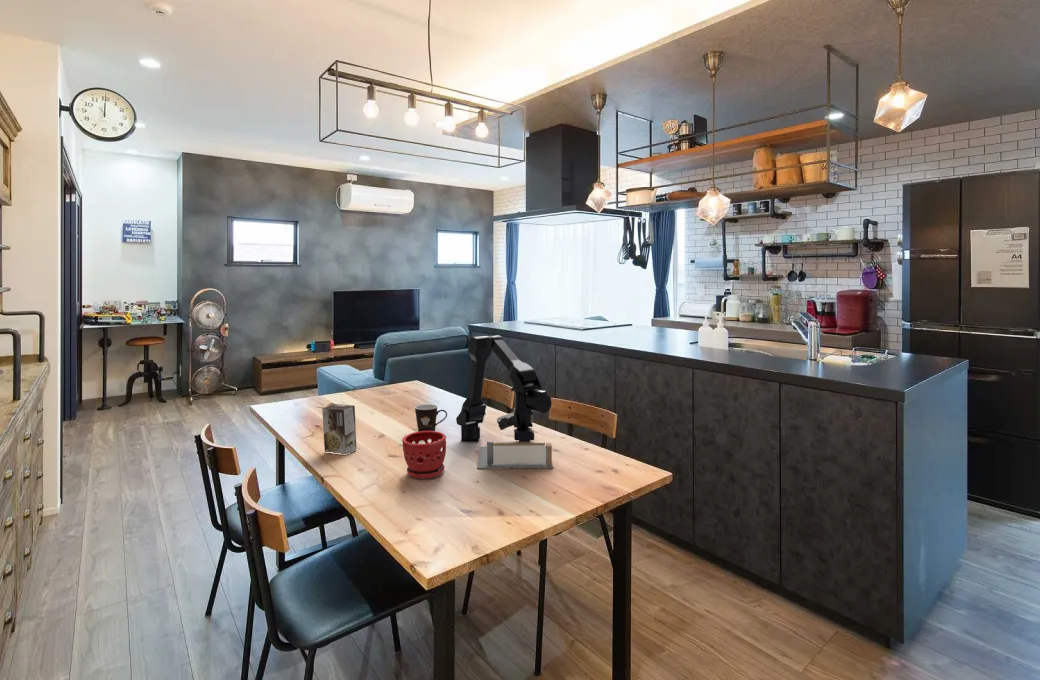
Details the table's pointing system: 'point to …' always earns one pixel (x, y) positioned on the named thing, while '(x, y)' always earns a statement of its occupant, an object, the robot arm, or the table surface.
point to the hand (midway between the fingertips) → (522, 452)
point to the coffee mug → (427, 417)
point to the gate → (515, 452)
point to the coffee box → (339, 428)
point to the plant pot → (424, 454)
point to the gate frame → (483, 463)
